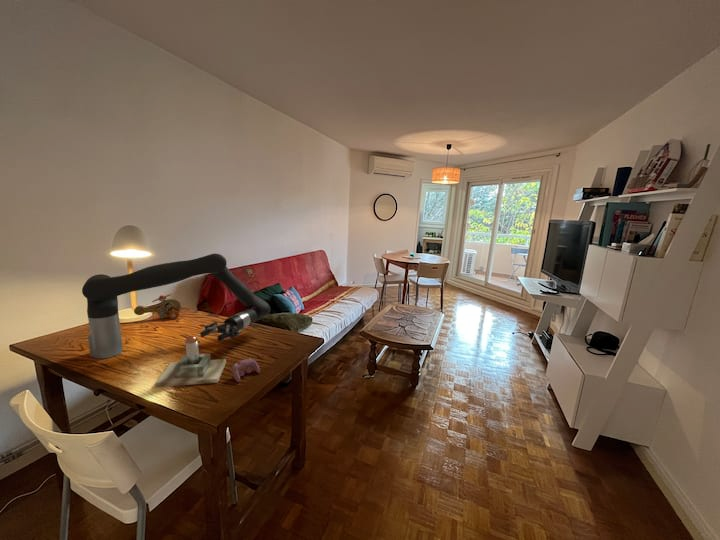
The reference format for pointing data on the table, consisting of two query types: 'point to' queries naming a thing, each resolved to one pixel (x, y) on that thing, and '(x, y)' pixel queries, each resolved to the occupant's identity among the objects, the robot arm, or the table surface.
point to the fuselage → (192, 350)
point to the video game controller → (242, 364)
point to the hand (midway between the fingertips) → (209, 336)
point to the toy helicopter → (162, 308)
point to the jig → (192, 372)
